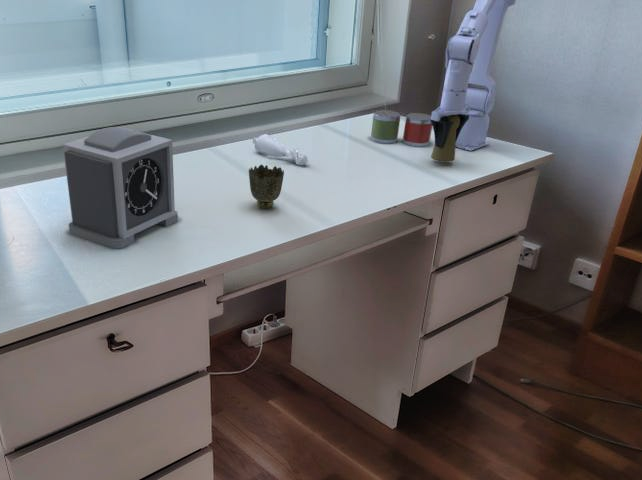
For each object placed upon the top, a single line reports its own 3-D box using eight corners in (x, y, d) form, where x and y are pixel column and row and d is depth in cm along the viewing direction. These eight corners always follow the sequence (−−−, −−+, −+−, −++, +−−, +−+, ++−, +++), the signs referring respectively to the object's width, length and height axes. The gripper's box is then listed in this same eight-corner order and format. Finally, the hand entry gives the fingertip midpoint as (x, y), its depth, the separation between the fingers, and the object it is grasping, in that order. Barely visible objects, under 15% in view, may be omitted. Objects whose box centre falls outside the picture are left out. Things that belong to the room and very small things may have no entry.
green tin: (392, 135, 198) (395, 110, 194) (400, 143, 191) (404, 117, 187) (367, 135, 196) (370, 110, 192) (374, 143, 190) (378, 117, 186)
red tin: (406, 137, 197) (410, 111, 193) (432, 141, 194) (436, 115, 190) (399, 143, 191) (403, 117, 187) (425, 148, 189) (429, 121, 185)
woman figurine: (272, 127, 182) (323, 148, 173) (271, 144, 185) (320, 165, 175) (240, 135, 175) (291, 157, 165) (239, 152, 178) (289, 175, 168)
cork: (456, 162, 175) (465, 118, 169) (433, 161, 175) (440, 117, 169) (452, 155, 180) (460, 112, 174) (429, 154, 180) (436, 110, 174)
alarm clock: (118, 250, 126) (109, 150, 116) (66, 232, 132) (53, 135, 121) (180, 219, 139) (177, 127, 129) (131, 204, 145) (124, 115, 135)
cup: (286, 203, 149) (288, 167, 145) (275, 215, 143) (277, 177, 139) (254, 198, 151) (255, 162, 147) (242, 209, 145) (243, 172, 141)
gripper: (452, 96, 161) (442, 154, 169) (485, 88, 170) (473, 143, 177) (427, 90, 165) (418, 147, 173) (460, 83, 174) (450, 137, 181)
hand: (445, 145), depth 175 cm, fingers closed on cork, 5 cm apart
